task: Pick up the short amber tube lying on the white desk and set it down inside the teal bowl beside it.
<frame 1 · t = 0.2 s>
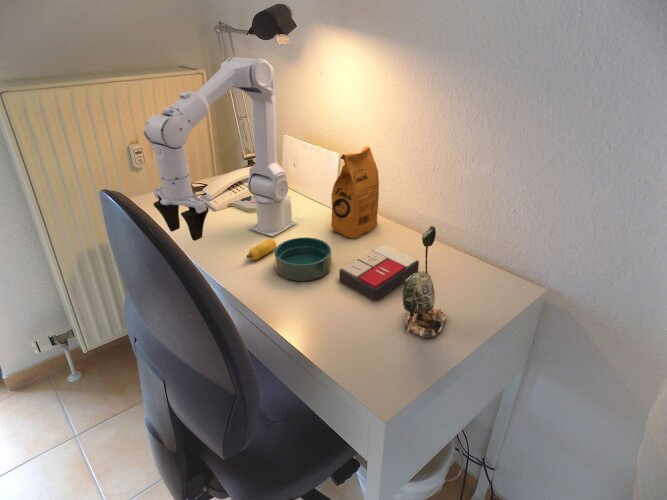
hand: (186, 234, 95), 10 cm above the table, tool pointing down, fingers open, 7 cm apart
coffee package: (354, 228, 120), on the table
calculator: (378, 278, 98), on the table
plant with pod: (421, 326, 84), on the table
amber tube: (263, 254, 108), on the table
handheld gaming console: (258, 202, 137), on the table
teal bowl: (303, 267, 102), on the table
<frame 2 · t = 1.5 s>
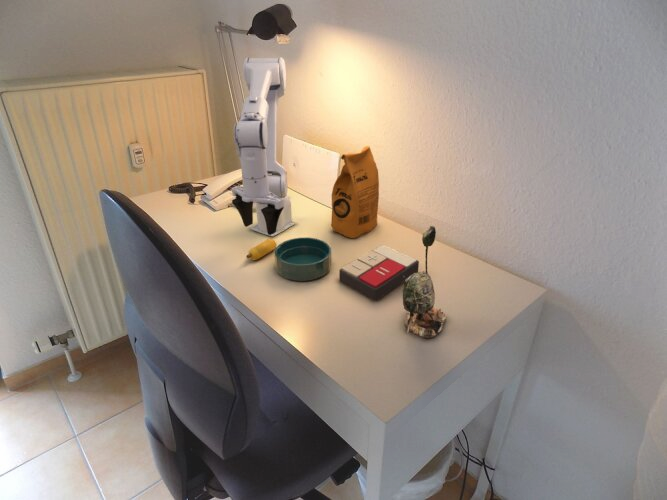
hand: (260, 229, 104), 7 cm above the table, tool pointing down, fingers open, 7 cm apart
nothing on the table moved.
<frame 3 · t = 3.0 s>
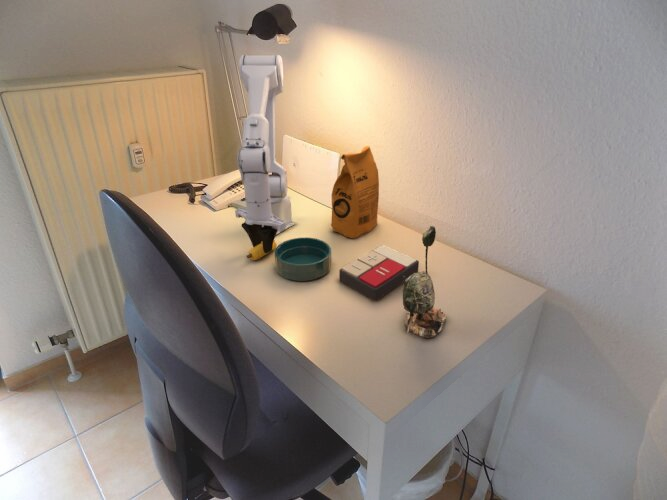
hand: (262, 249, 107), 1 cm above the table, tool pointing down, fingers closed on amber tube, 3 cm apart
amber tube: (263, 254, 108), on the table, touching gripper
everything else where it was.
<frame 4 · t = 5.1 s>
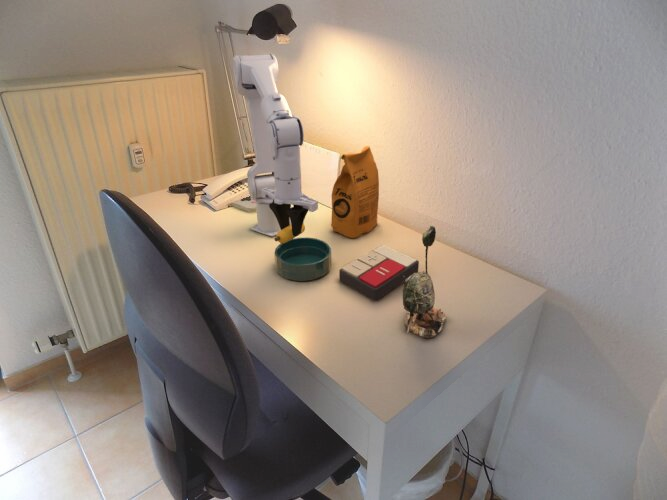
hand: (291, 232, 99), 8 cm above the table, tool pointing down, fingers closed on amber tube, 3 cm apart
amber tube: (291, 237, 100), point 7 cm above the table, touching gripper
everything else where it was.
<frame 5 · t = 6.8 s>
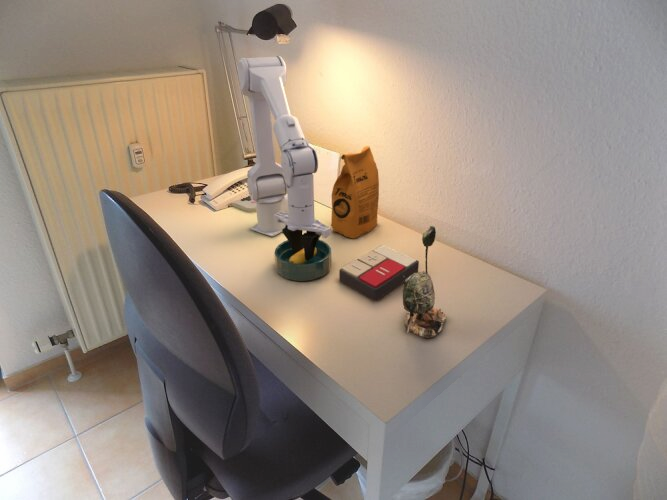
hand: (303, 256, 101), 3 cm above the table, tool pointing down, fingers closed on amber tube, 3 cm apart
amber tube: (303, 261, 102), point 2 cm above the table, touching gripper
everything else where it was.
when the fingers open (2 cm above the table, at t = 7.4 s): amber tube stays where it is, resting on teal bowl.
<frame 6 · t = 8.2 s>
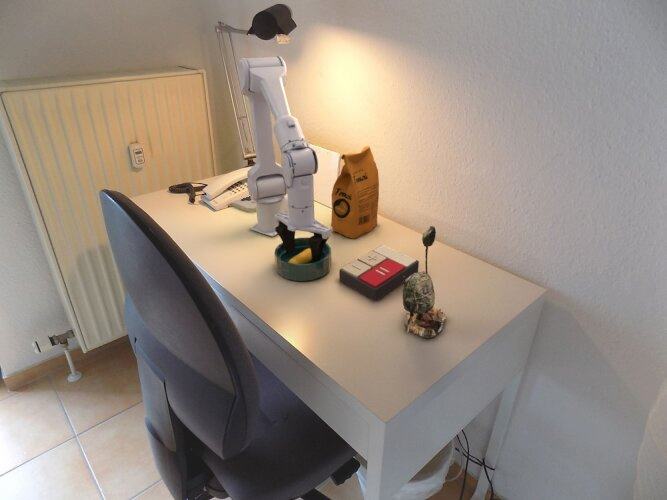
hand: (303, 256, 101), 3 cm above the table, tool pointing down, fingers open, 7 cm apart
amber tube: (303, 265, 102), resting on teal bowl, tilted 20°
everything else where it was.
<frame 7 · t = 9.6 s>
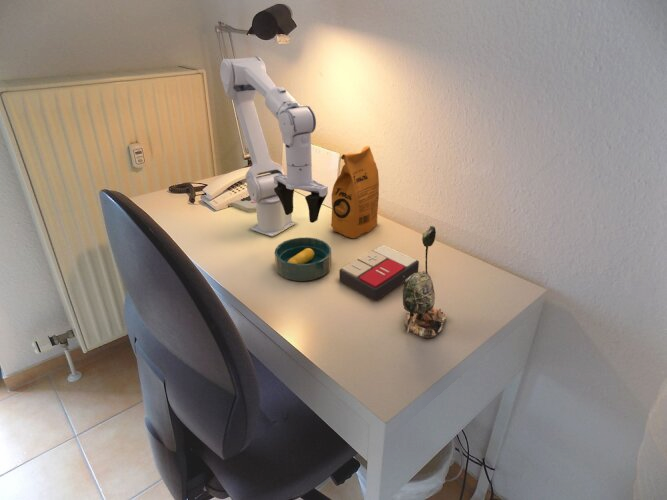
hand: (301, 217, 104), 9 cm above the table, tool pointing down, fingers open, 7 cm apart
amber tube: (303, 265, 102), point 1 cm above the table, tilted 29°, touching teal bowl
everything else where it was.
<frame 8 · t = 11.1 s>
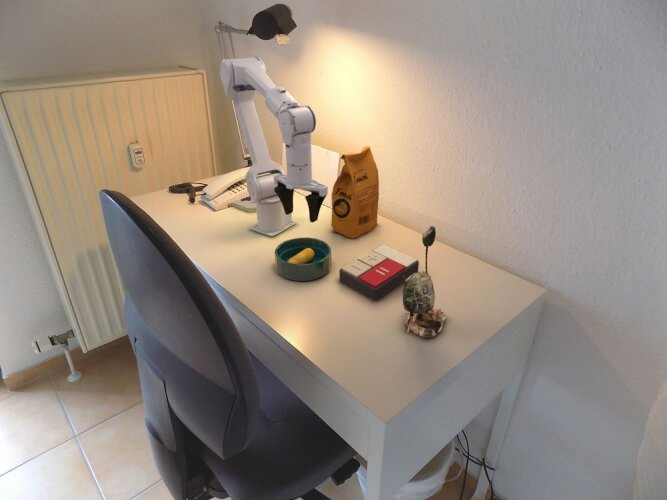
hand: (301, 217, 104), 9 cm above the table, tool pointing down, fingers open, 7 cm apart
nothing on the table moved.
at the end: amber tube inside the target area in the teal bowl (0.1 cm from its centre), point 0.6 cm above the teal bowl's base; the gripper is holding nothing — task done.
